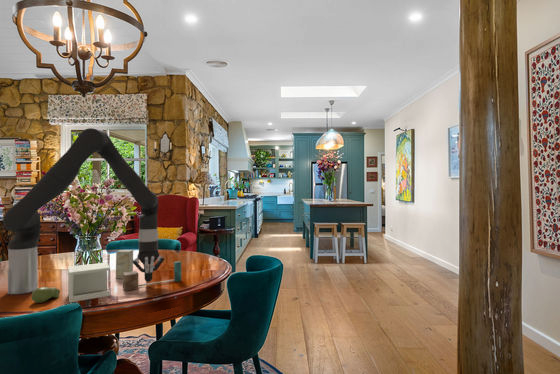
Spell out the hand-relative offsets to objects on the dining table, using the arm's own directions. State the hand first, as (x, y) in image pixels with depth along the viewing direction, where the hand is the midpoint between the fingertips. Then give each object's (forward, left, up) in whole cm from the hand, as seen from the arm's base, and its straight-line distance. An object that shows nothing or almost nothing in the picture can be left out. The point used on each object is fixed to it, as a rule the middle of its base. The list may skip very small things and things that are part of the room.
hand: (148, 281), depth 142 cm
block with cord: (+2, 0, -1) cm, 3 cm away
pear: (-35, +2, -2) cm, 35 cm away
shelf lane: (-21, 0, -2) cm, 21 cm away
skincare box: (-6, +21, -2) cm, 22 cm away
